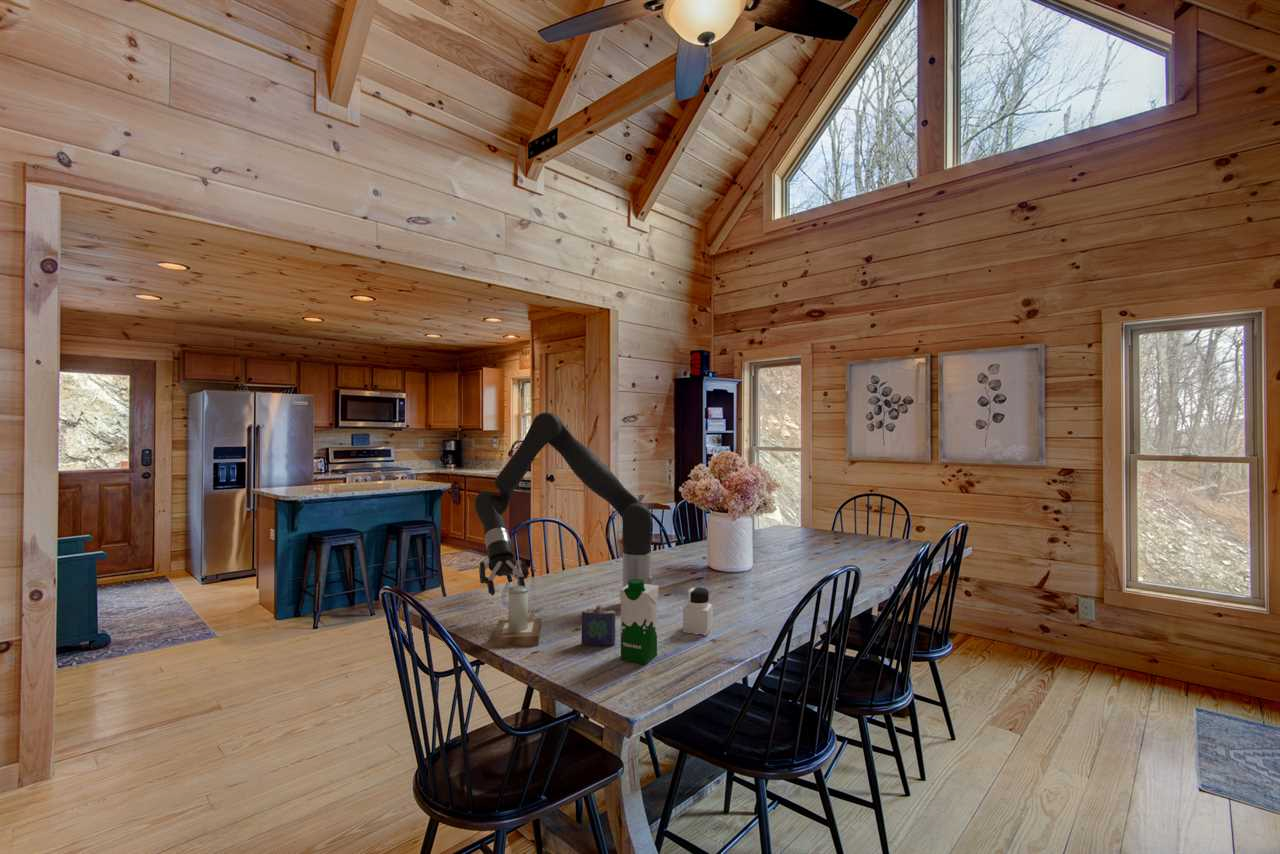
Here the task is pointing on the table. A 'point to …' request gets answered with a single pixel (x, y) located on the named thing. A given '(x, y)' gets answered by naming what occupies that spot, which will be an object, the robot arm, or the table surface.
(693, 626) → the medicine bottle
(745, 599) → the table surface
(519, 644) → the pedestal
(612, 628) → the flask
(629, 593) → the milk carton
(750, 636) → the table surface
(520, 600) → the canister
